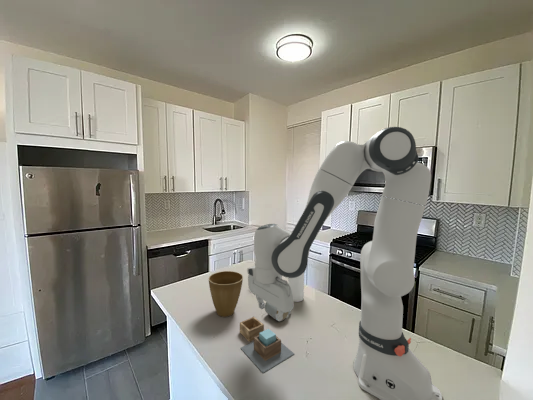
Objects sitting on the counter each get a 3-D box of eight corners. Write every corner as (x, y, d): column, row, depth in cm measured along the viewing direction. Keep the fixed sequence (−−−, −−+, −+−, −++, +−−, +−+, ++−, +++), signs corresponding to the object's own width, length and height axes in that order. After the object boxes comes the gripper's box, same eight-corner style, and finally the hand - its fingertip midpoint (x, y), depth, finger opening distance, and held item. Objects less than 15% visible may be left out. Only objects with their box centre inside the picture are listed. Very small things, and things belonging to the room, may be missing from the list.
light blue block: (275, 350, 78) (275, 334, 77) (266, 355, 75) (266, 339, 75) (268, 343, 81) (268, 328, 81) (259, 348, 79) (259, 333, 78)
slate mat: (294, 354, 77) (294, 353, 77) (262, 373, 69) (262, 372, 69) (270, 334, 87) (270, 333, 87) (240, 348, 80) (240, 347, 80)
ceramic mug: (276, 325, 93) (277, 306, 93) (264, 315, 100) (264, 298, 99) (295, 316, 100) (295, 299, 99) (282, 308, 106) (282, 292, 106)
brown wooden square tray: (281, 352, 78) (281, 340, 77) (265, 361, 74) (265, 348, 73) (269, 341, 83) (269, 330, 83) (253, 349, 79) (253, 337, 79)
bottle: (303, 302, 111) (304, 241, 109) (287, 301, 112) (288, 240, 110) (303, 294, 119) (305, 237, 117) (288, 293, 120) (289, 236, 118)
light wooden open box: (263, 335, 87) (263, 324, 87) (249, 342, 83) (249, 331, 83) (253, 326, 92) (253, 316, 92) (239, 333, 88) (239, 322, 88)
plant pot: (222, 326, 92) (222, 287, 91) (202, 312, 102) (201, 277, 101) (249, 311, 103) (250, 276, 102) (228, 300, 113) (228, 268, 112)
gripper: (297, 279, 70) (299, 323, 71) (258, 263, 86) (260, 299, 87) (281, 285, 66) (283, 332, 67) (244, 267, 83) (246, 305, 83)
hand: (270, 313), depth 77 cm, fingers open, 8 cm apart
